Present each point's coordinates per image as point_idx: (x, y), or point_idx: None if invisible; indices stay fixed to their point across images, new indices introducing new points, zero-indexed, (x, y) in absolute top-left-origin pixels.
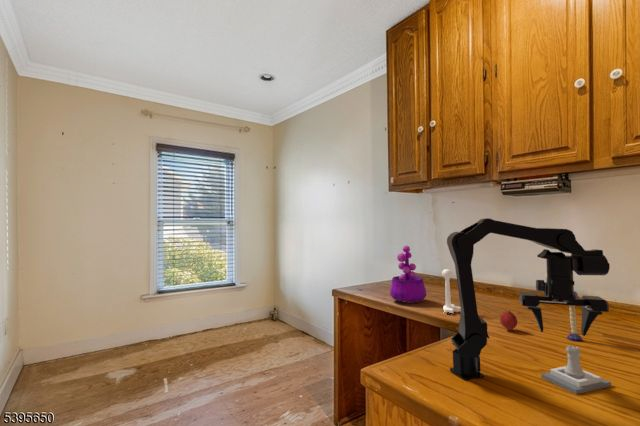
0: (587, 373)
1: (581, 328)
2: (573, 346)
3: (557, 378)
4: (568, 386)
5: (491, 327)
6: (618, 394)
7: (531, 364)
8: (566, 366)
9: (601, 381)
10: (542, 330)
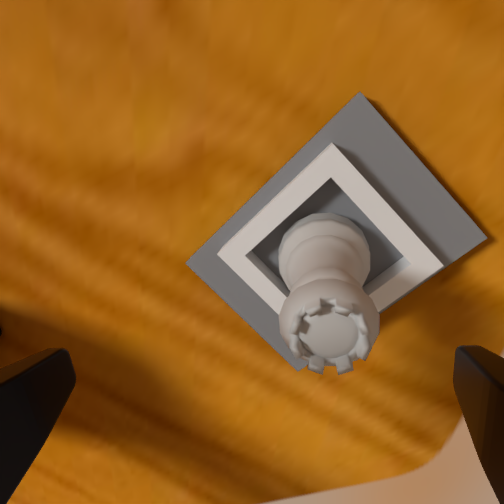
0: (390, 238)
1: (496, 392)
2: (338, 311)
3: (246, 288)
4: (277, 349)
5: None
6: (470, 308)
7: (149, 99)
8: (288, 265)
9: (440, 249)
10: (61, 403)
